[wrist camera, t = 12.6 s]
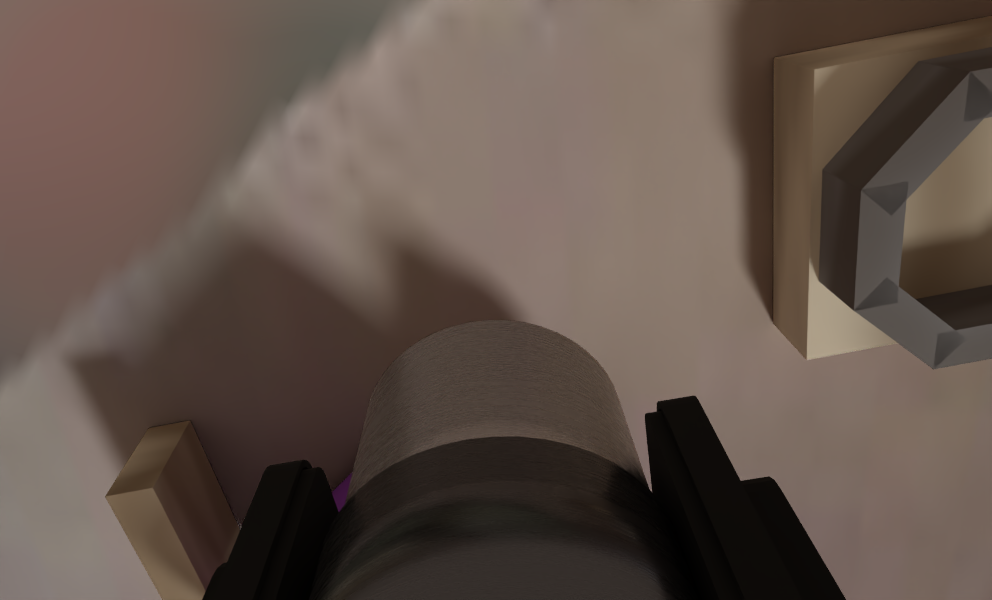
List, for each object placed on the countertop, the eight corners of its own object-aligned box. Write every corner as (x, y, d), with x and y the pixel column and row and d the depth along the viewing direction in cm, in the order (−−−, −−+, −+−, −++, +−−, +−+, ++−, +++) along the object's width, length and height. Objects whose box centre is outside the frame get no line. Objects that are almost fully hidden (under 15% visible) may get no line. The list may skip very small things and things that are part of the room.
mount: (1079, -2, 20) (1237, 7, 16) (1028, 275, 24) (1146, 338, 20) (773, 57, 20) (855, 81, 16) (773, 323, 24) (838, 395, 20)
